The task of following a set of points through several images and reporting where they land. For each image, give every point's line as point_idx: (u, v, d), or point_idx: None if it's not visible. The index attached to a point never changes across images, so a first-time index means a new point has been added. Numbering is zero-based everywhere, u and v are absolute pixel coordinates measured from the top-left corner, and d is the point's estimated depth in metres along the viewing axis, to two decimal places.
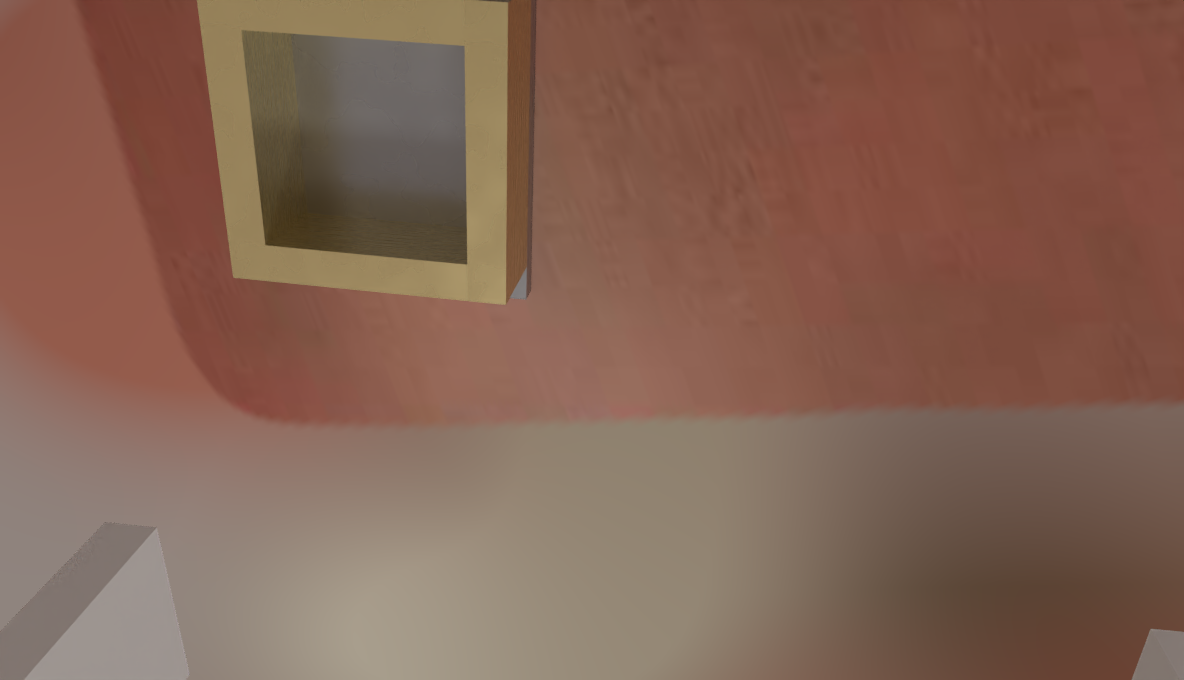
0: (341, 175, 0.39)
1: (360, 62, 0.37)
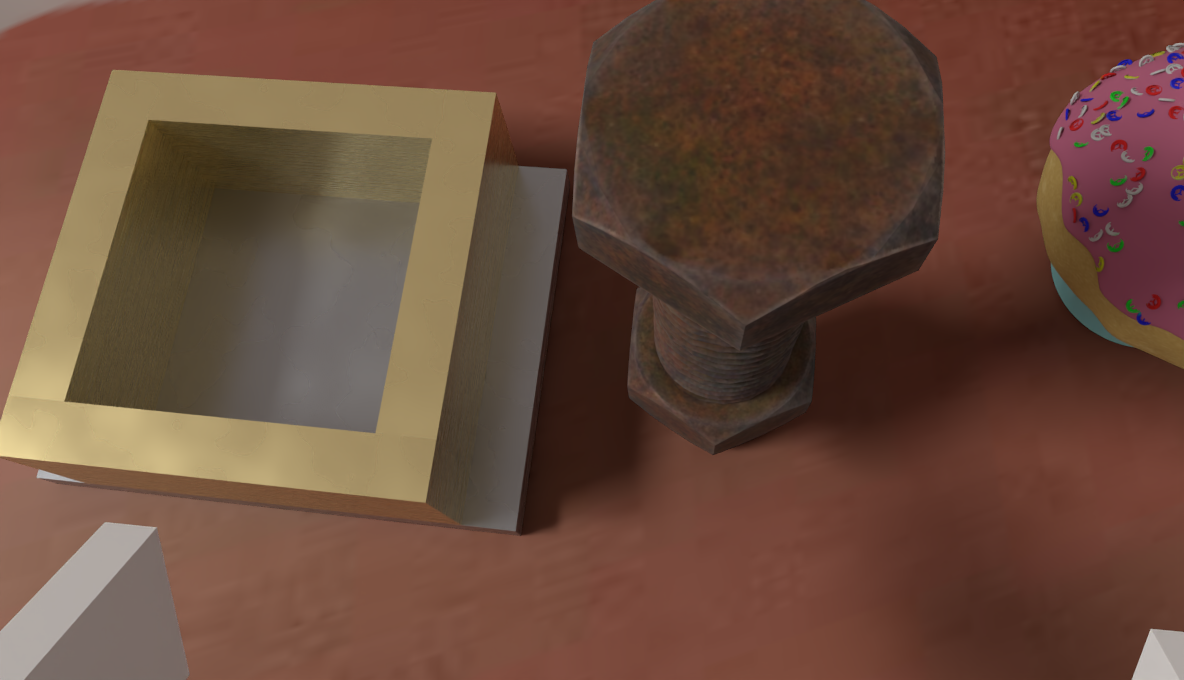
0: (256, 240, 0.29)
1: (397, 285, 0.28)
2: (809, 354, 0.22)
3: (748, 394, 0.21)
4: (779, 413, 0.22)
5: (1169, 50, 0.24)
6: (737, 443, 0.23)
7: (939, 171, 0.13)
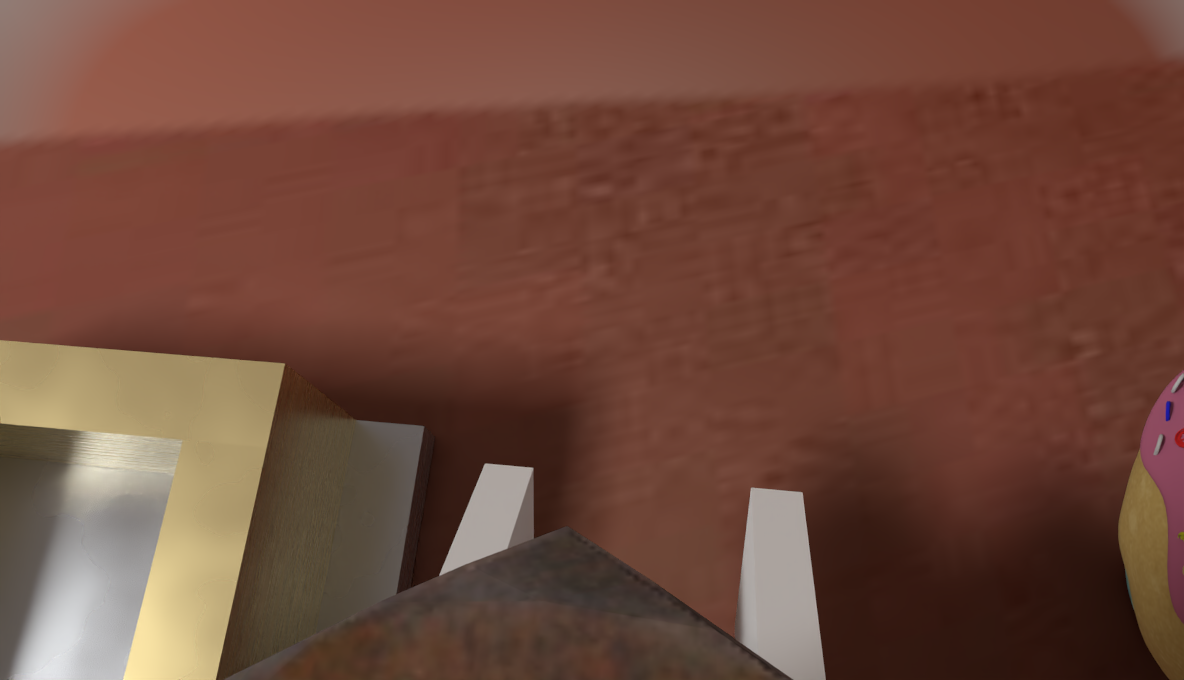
0: None
1: None
2: None
3: None
4: None
5: None
6: None
7: None
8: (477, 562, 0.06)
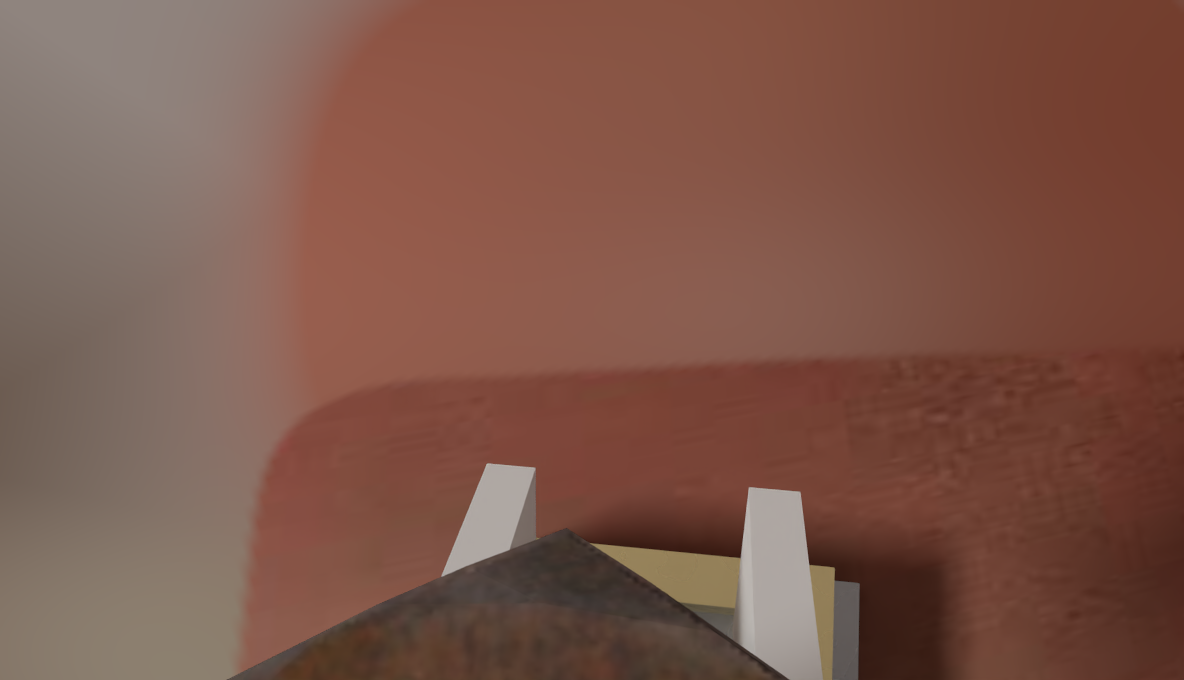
0: None
1: None
2: None
3: None
4: None
5: None
6: None
7: None
8: (475, 565, 0.06)
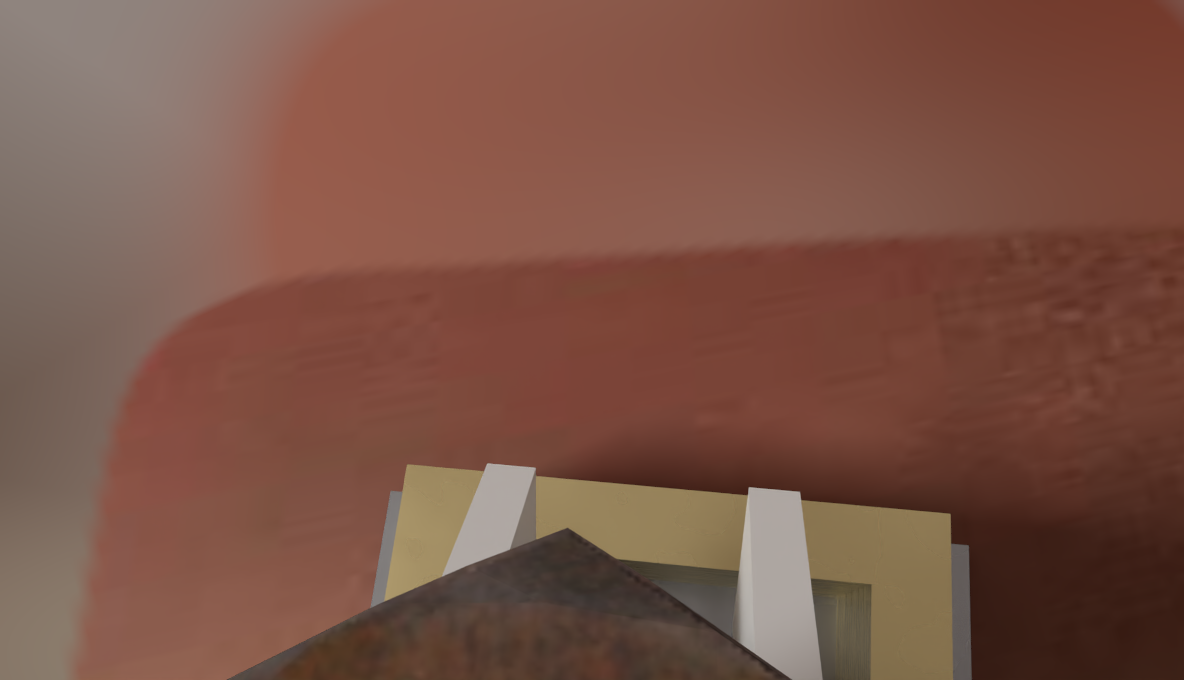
0: None
1: None
2: None
3: None
4: None
5: None
6: None
7: None
8: (477, 564, 0.06)
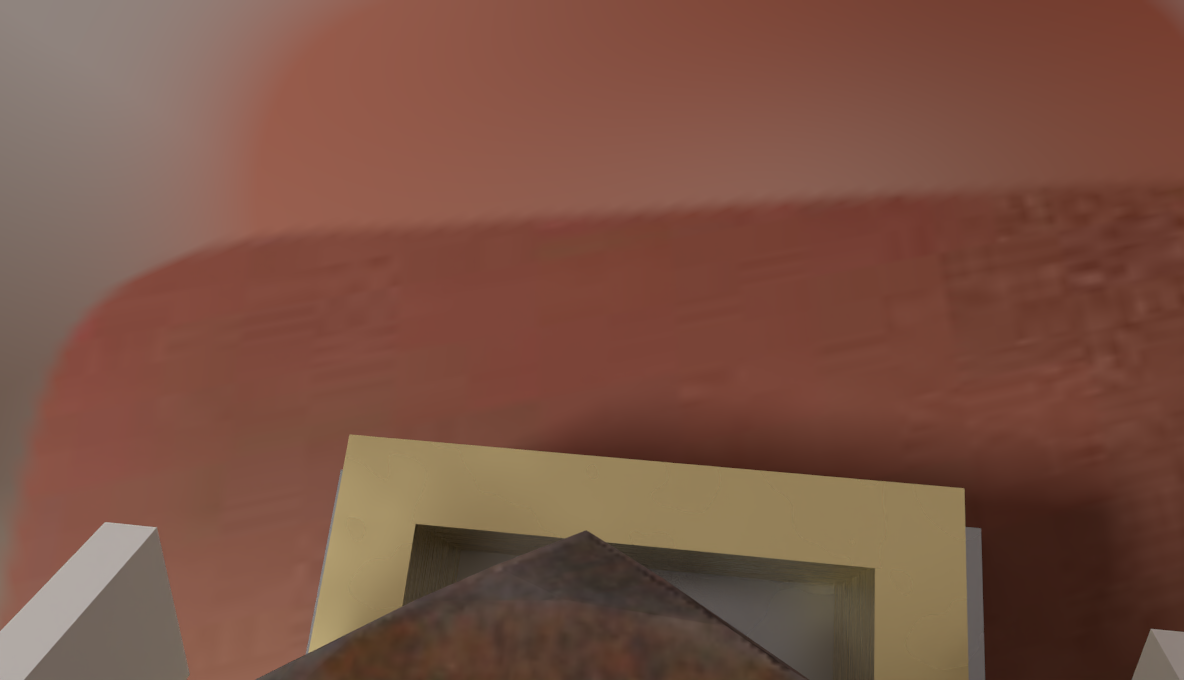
0: None
1: None
2: None
3: None
4: None
5: None
6: None
7: None
8: (502, 563, 0.06)
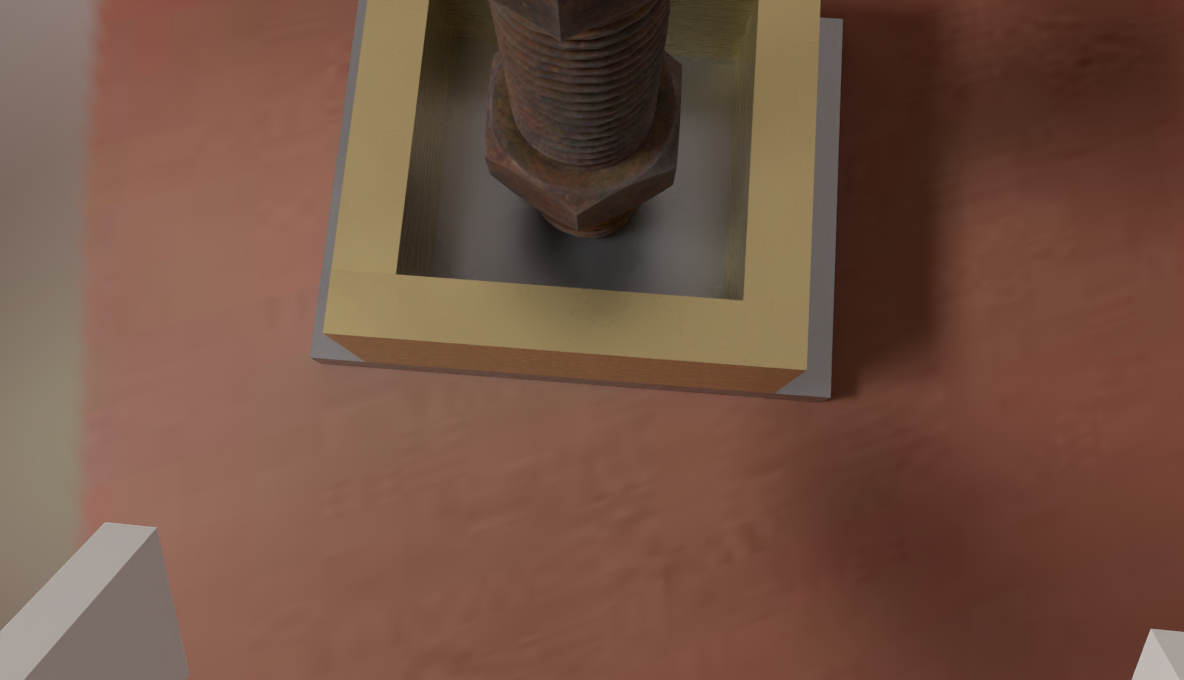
0: None
1: None
2: (673, 118, 0.21)
3: (609, 158, 0.20)
4: (642, 179, 0.21)
5: None
6: (602, 217, 0.22)
7: None
8: None
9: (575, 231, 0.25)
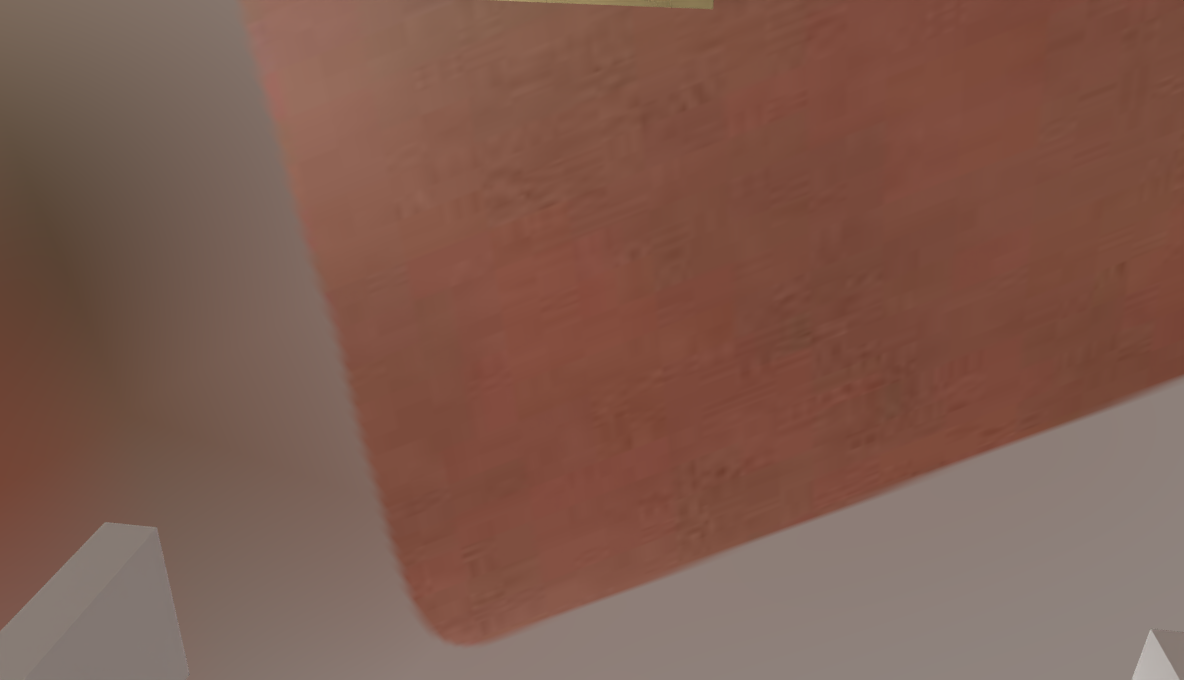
0: None
1: None
2: None
3: None
4: None
5: None
6: None
7: None
8: None
9: None
